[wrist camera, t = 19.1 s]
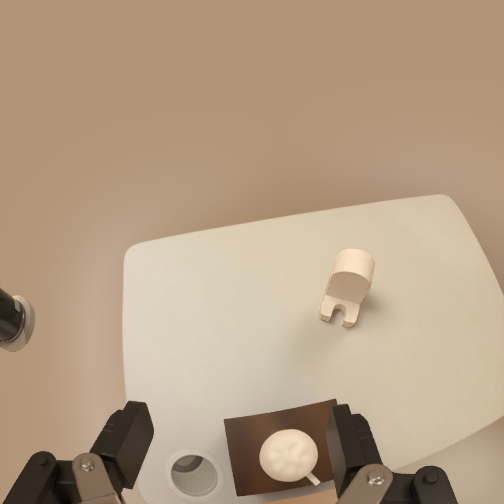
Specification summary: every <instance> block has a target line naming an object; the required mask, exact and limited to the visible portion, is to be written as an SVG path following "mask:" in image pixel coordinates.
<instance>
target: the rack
mask: <svg viewBox="0 0 504 504" xmlns="http://www.w3.org/2000/svg"><path fill="white" fill-rule="evenodd" d="M331 405H337V401H336V399H332V400H328V401H324V402H320V403H315V404H311V405H306V406H302V407H297V408H292V409H287V410H282V411H276V412H271V413H265V414H259V415H252V416H246V417H238V418H231V419H224V424H225V430H226V437H227V443H228V449H229V455H230V460H231V466H232V472H233V477H234V483H235V488H236V494H237V496H246V495H255V494H262V493H269V492H276V491H282V490H287V489H293V488H298V487H303V486H308V485H312V484H313V483H312V482H311V481H310V480H309V479H308V478H307V477H306V476H305V477H303V478H302V479H299V480H297V481H293V482H285V481H279V480H275V479H273V478H271V477H270V476H269V475H268V474H267V473H266V472H265V471H264V470H263V468H262V466H261V464H260V451H261V448H262V445H263V444H264V442H265V441H266V440H267V439H268V438H269V437H270V436H271V435H273V434H274V433H276V432H278V431H282V430H288V429H295V430H299V431H302V432H304V433H306V434H307V435H308V436H309V437H310V438H311V439H312V440H313V441H314V443H315V444H316V447H317V451H318V458H317V462H316V465H315V467H314V468H313V470H312V471H311V473H312V474H313V475H314V476H315V477H316V478H317V479H318V480H319V481H320V483H321V482H325V481H329V480H333V479H334V476H333V470H332V465H331V460H330V455H329V450H328V444H327V437H326V431H327V423H328V416H329V409H330V406H331Z"/></svg>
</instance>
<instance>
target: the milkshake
mask: <svg viewBox="0 0 504 504" xmlns="http://www.w3.org/2000/svg"><path fill="white" fill-rule="evenodd" d="M317 458H318V451H317V447H316V444H315V443H314V441H313V440H312V439H311V438H310V437H309V436H308V435H307V434H306V433H304V432H302V431H299V430H295V429H288V430H282V431H278V432H276V433H274V434H273V435H271V436H270V437H269V438H268V439H267V440H266V441H265V442H264V444H263V445H262V448H261V451H260V464H261V466H262V468H263V470H264V471H265V472H266V473H267V474H268V475H269V476H270V477H271V478H273V479H275V480H279V481H285V482H293V481H297V480H299V479H302V478H303V477H305V476H306V477H307V478H308V479H309V480H310V481H311V482H312V483H313V484H314V485H315V486H317V485H318V484H319V483H320V481H319V480H318V479H317V478H316V477H315V476H314V475H313V474H312V473H311V471H312V470H313V468H314V467H315V465H316V462H317Z"/></svg>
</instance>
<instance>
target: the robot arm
mask: <svg viewBox="0 0 504 504" xmlns="http://www.w3.org/2000/svg"><path fill="white" fill-rule="evenodd" d="M25 319H26V313H25V308H24V306H23V305H22V303H20V302H19V301H18V300H16V299H14V298H13V297H12V296H10V295H9V294H8V293H6V292H5V291H4V290H2V289H1V288H0V342H1V341H3V342H5V343H11V342H13V341H15V340H16V339H17V338H18V337H19V336H20V334H21V332H22V330H23V328H24V325H25ZM153 435H154V427H153V423H152V420H151V417H150V414H149V410H148V407H147V404H146V403H145V402H137V401H128V402H127V404H126V406H125V408H124V409H123V410H117V411H116V412H115V413H114V414H112V415H111V416H110V418H109V419H108V421H107V423H106V425H105V426H104V428H103V431H101V433H100V435H99V436H98V438H97V440H96V441H95V443H94V445H93V447H92V448H91V450H90V452H89V453H83V454H80V455H78V456H77V457H76V458H75V459H74V460H73V461H62V460H56V458H55V457H54V456H53V454H51V453H50V452H46V451H41V452H38V453H35V454H34V455H32V456H31V458H30V459H29V461H28V463H27V464H26V466H25V467H24V469H23V470H22V472H21V474H20V475H19V477H18V479H17V480H16V482H15V483H14V485H13V487H12V488H11V490H10V492H9V494H8V495H7V497H6V499H5V500H4V502H3V504H126V502H125V500H124V498H123V496H122V494H121V492H122V490H123V488H127V489H133V486H134V484H135V481H136V479H137V476H138V474H139V471H140V469H141V466H142V464H143V461H144V459H145V456H146V454H147V451H148V449H149V446H150V444H151V441H152V439H153ZM326 437H327V444H328V450H329V455H330V460H331V465H332V470H333V476H334V481H335V487H336V492H337V498H338V499H339V500H338V501H337V503H336V504H458V503H457V500H456V497H455V495H454V492H453V490H452V487H451V485H450V482H449V480H448V477H447V475H446V473H445V472H444V471H443V470H442V469H441V468H439V467H436V466H425V467H423V468H421V469H419V470H418V471H417V472H416V473H415V474H399V473H394V472H392V471H391V470H390V469H389V468H388V467H386V466H384V465H383V463H382V461H381V458H380V455H379V452H378V449H377V446H376V444H375V441H374V438H373V435H372V432H371V431H370V427H369V424H368V421H367V420H366V419H365V418H364V417H363V416H362V415H361V414H352V415H351V411H350V408H349V405H348V404H340V405H331V406H330V409H329V416H328V423H327V431H326Z"/></svg>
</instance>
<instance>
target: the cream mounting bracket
mask: <svg viewBox="0 0 504 504" xmlns="http://www.w3.org/2000/svg"><path fill="white" fill-rule="evenodd" d="M374 266H375V261H374V259H373V257H371V256H370V255H369V254H368V253H366V252H364V251H361V250H357V249H345V250H342V251H340V252H339V253H338V255H337V257H336V259H335V262H334V265H333V269H332V272H331V276H330V279H329V283H328V286H327V290H326V293H325V296H324V300H323V303H322V306H321V310H320V313H319V318H320V319H322V320H325V321H328V322H329V320H330V318H331V314H332V311H333V310H335V309H339V310H341V311H342V312H343V313H344V318H343V322H342V326H345V327H352V326H353V324H354V323H355V322H356V319H357V315H358V311H359V307H360V304H361V302H362V301H363V299H364V297H365V296H366V294H367V292H368V291H369V289H370V286H371V281H372V276H373V271H374Z"/></svg>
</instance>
